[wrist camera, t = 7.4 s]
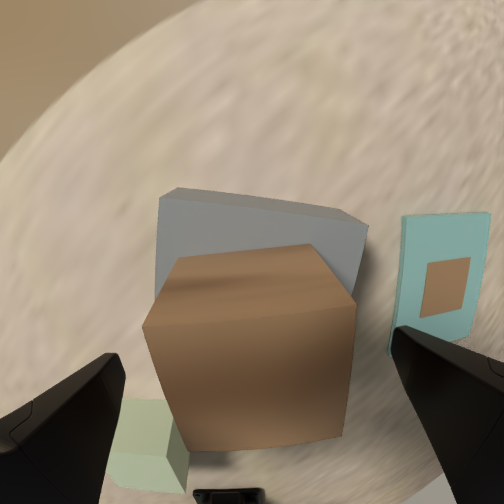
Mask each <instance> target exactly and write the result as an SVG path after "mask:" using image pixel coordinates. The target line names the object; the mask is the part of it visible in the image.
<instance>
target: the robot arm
mask: <svg viewBox="0 0 504 504" xmlns="http://www.w3.org/2000/svg"><path fill="white" fill-rule="evenodd" d="M390 350H391V355H392V358H393V360H394V363H395V365H396V368H397V371H398V373H399V376H400V379H401V381H402V384H403V386H404V389H405V391H406V393H407V395H408V397H409V399H410V401H411V403H412V405H413V407H414V409H415V411H416V413H417V415H418V417H419V419H420V421H421V423H422V425H423V427H424V429H425V431H426V434H427V436H428V438H429V440H430V442H431V444H432V446H433V449H434V451H435V453H436V455H437V457H438V460H439V462H440V464H441V466H442V469H443V471H444V473H445V476H446V478H447V480H448V483H449V485H450V487H451V490H452V492H453V495H454V498H455V500H456V503H457V504H504V363H503V362H500V361H497V360H495V359H492V358H490V357H486V356H484V355H482V354H479V353H476V352H474V351H471V350H469V349H466V348H464V347H461V346H458V345H456V344H453V343H451V342H448V341H446V340H443V339H440V338H438V337H435V336H433V335H430V334H428V333H425V332H423V331H420V330H417V329H415V328H412V327H410V326H407V325H403V326H398V327H396V328H395V329H394V331H393V336H392V342H391V348H390ZM125 380H126V375H125V371H124V368H123V366H122V363H121V360H120V357H119V355H118V354H117V353H105V354H103V355H101V356H100V357H98V358H97V359H95V360H94V361H92V362H91V363H89V364H87V365H86V366H84V367H83V368H81V369H80V370H78V371H77V372H75V373H73V374H72V375H70V376H69V377H67V378H66V379H64V380H62V381H61V382H59V383H58V384H56V385H55V386H53V387H52V388H50V389H48V390H47V391H45V392H44V393H42V394H41V395H39V396H37V397H36V398H34V399H33V401H32V400H31V401H30V402H28V403H26V404H25V405H23V406H22V407H20V408H18V409H17V410H15V411H13V412H12V413H10V414H8V415H6V416H4V417H2V418H0V504H99V499H100V494H101V489H102V485H103V480H104V476H105V471H106V467H107V463H108V459H109V455H110V451H111V447H112V443H113V439H114V435H115V431H116V428H117V424H118V420H119V416H120V410H121V404H122V398H123V392H124V386H125ZM193 497H194V498H195V500H196V502H197V504H263V503H262V496H261V490H260V489H241V490H194V491H193Z"/></svg>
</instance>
